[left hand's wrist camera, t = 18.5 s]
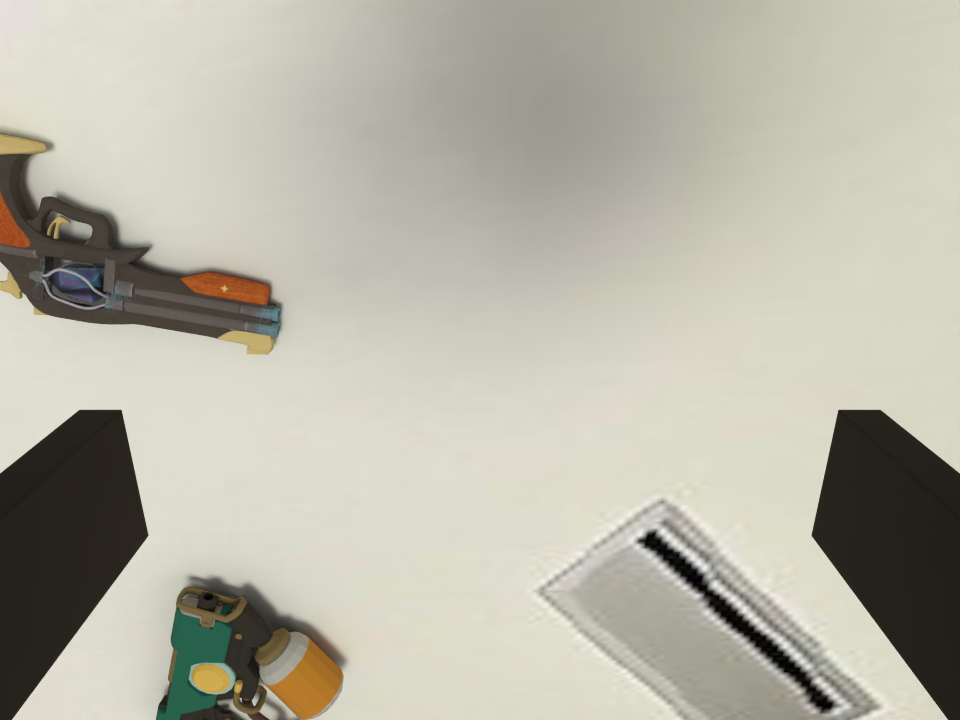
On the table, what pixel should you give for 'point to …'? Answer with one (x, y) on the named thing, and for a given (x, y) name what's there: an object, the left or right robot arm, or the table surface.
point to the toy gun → (117, 273)
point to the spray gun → (241, 663)
